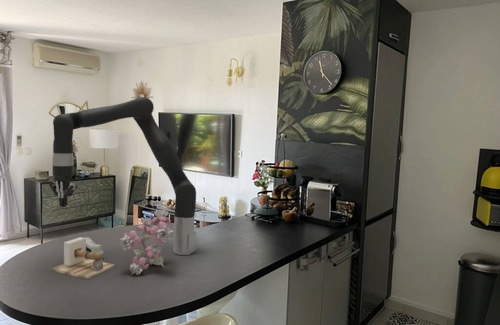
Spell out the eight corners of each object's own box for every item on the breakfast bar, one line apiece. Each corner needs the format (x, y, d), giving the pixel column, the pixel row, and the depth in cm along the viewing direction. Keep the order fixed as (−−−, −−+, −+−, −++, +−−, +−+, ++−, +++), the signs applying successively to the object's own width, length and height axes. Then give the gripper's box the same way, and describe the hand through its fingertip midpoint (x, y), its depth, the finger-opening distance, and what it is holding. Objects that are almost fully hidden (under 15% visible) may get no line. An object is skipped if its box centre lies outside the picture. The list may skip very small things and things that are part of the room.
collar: (85, 259, 150) (85, 238, 149) (69, 265, 142) (69, 243, 141) (80, 258, 151) (80, 237, 150) (64, 264, 143) (63, 242, 143)
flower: (110, 257, 155) (112, 211, 142) (160, 244, 167) (166, 201, 155) (125, 293, 141) (128, 246, 129) (178, 275, 154) (186, 231, 142)
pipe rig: (113, 266, 148) (114, 249, 148) (87, 279, 135) (87, 260, 135) (80, 259, 155) (80, 242, 154) (51, 270, 142) (51, 252, 141)
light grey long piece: (91, 235, 176) (104, 243, 156) (91, 249, 176) (104, 258, 156) (79, 237, 173) (91, 244, 153) (79, 251, 173) (91, 260, 152)
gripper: (83, 164, 146) (82, 207, 148) (58, 162, 151) (58, 203, 153) (67, 166, 139) (67, 210, 141) (42, 163, 144) (43, 206, 146)
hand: (63, 206), depth 147 cm, fingers closed
